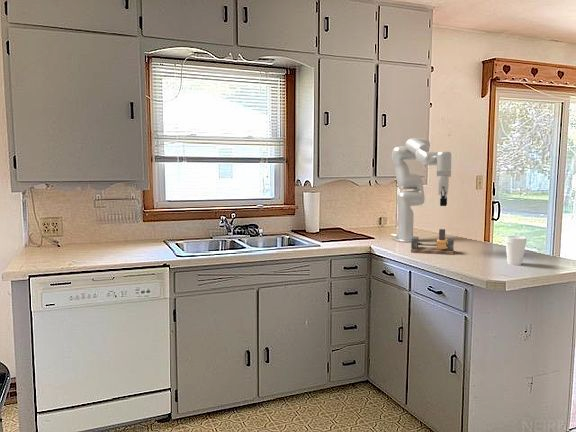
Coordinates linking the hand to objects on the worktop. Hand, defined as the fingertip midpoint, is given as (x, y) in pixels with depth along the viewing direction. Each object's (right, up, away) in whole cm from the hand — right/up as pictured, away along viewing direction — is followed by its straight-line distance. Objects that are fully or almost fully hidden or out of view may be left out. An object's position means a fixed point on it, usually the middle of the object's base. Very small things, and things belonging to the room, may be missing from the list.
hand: (443, 205), depth 263 cm
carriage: (-1, -23, 0) cm, 23 cm away
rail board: (-5, -26, +3) cm, 26 cm away
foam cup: (+24, -29, -31) cm, 49 cm away
